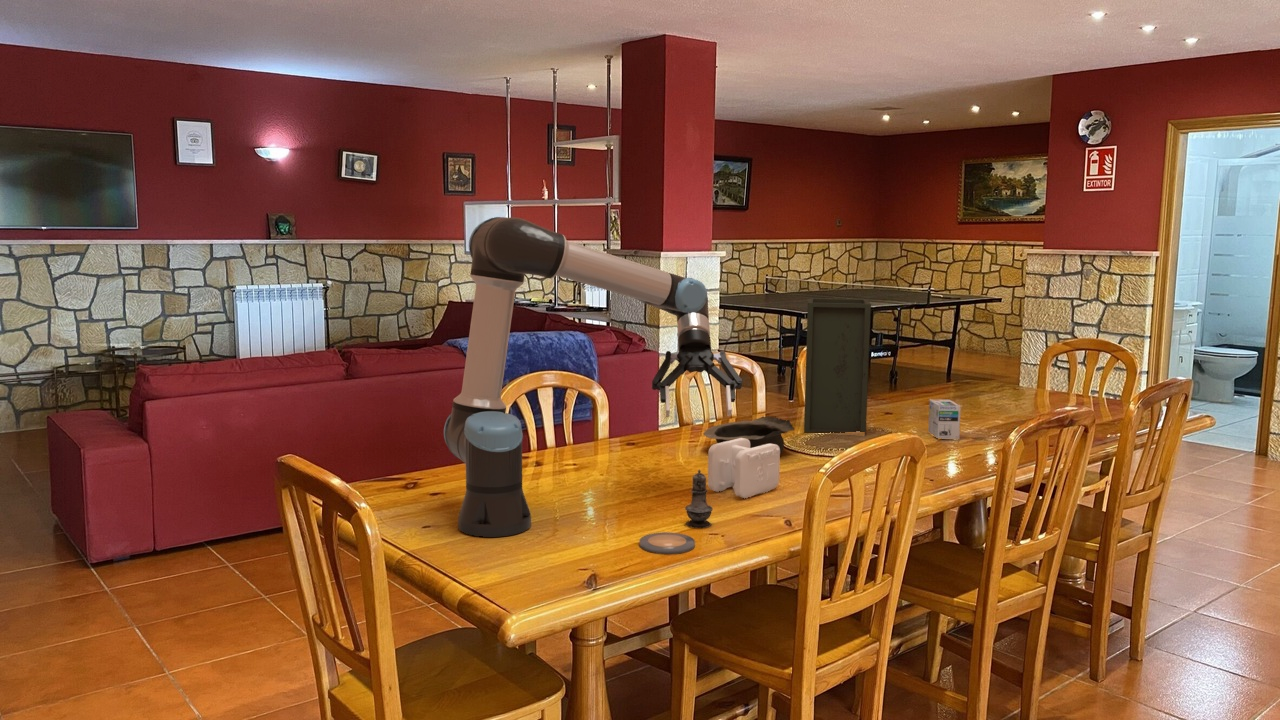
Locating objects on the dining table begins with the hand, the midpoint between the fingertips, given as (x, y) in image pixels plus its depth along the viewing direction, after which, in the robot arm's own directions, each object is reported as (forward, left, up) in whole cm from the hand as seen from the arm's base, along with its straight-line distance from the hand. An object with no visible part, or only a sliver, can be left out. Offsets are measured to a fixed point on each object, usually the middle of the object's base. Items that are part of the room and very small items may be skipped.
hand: (698, 413), depth 214 cm
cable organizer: (-7, +18, -22) cm, 29 cm away
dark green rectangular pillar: (-51, +86, -22) cm, 102 cm away
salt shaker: (+9, -6, -22) cm, 25 cm away
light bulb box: (-26, +107, -22) cm, 112 cm away
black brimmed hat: (-39, +43, -22) cm, 62 cm away
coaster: (+17, -19, -22) cm, 34 cm away
